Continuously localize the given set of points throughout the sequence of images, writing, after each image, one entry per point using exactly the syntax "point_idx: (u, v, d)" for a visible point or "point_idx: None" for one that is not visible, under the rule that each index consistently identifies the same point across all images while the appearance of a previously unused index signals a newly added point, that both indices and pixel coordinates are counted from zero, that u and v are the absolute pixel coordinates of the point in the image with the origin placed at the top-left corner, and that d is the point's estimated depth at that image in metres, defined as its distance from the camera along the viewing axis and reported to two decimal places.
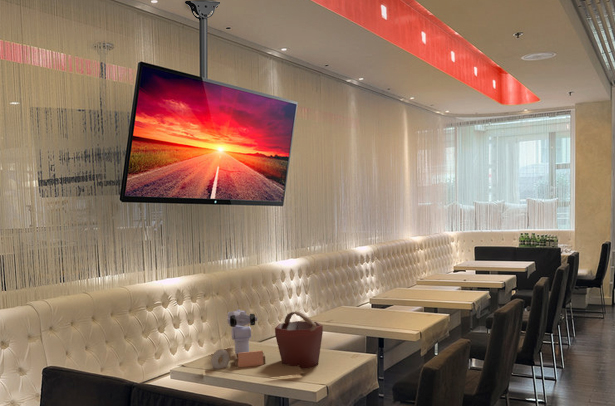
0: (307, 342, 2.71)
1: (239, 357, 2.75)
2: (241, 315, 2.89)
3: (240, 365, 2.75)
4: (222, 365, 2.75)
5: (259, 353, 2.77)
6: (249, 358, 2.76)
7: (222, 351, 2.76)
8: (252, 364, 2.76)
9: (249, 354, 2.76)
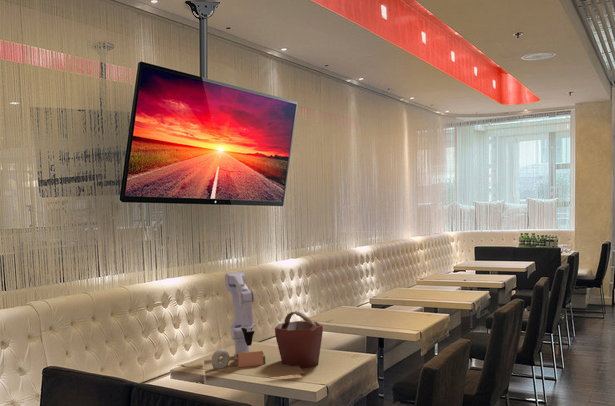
0: (307, 342, 2.71)
1: (239, 357, 2.75)
2: None
3: (240, 365, 2.75)
4: (222, 365, 2.75)
5: (259, 353, 2.77)
6: (249, 358, 2.76)
7: (222, 351, 2.76)
8: (252, 364, 2.76)
9: (249, 354, 2.76)
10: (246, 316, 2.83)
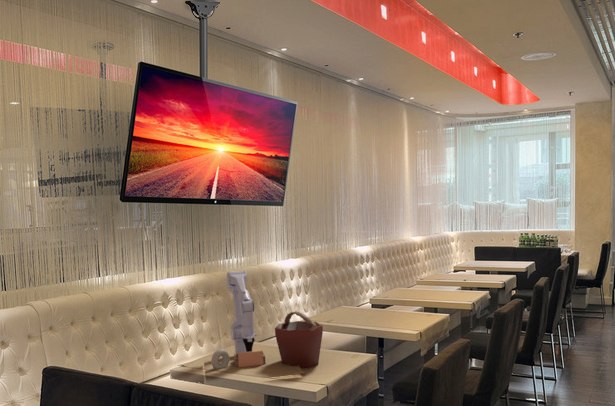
0: (307, 342, 2.71)
1: (239, 357, 2.75)
2: None
3: (240, 365, 2.75)
4: (222, 365, 2.75)
5: (259, 353, 2.77)
6: (249, 358, 2.76)
7: (222, 351, 2.76)
8: (252, 364, 2.76)
9: (249, 354, 2.76)
10: (247, 326, 2.80)
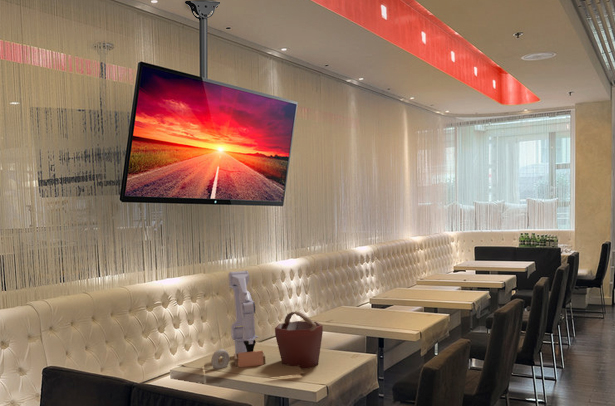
0: (307, 342, 2.71)
1: (239, 357, 2.75)
2: None
3: (240, 365, 2.75)
4: (222, 365, 2.75)
5: (259, 353, 2.77)
6: (249, 358, 2.76)
7: (222, 351, 2.76)
8: (252, 364, 2.76)
9: (249, 354, 2.76)
10: (248, 328, 2.75)
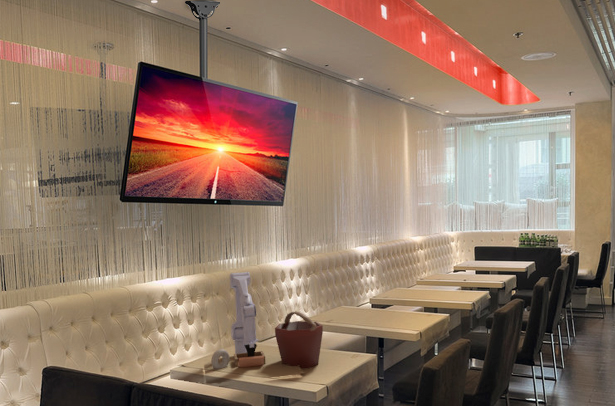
0: (307, 342, 2.71)
1: (240, 362, 2.72)
2: None
3: (240, 366, 2.75)
4: (222, 365, 2.75)
5: (260, 358, 2.73)
6: (249, 362, 2.74)
7: (222, 351, 2.76)
8: (252, 365, 2.76)
9: (250, 359, 2.72)
10: (248, 331, 2.72)
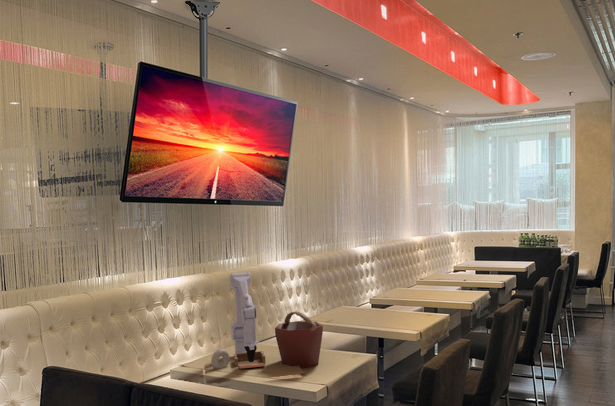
0: (307, 342, 2.71)
1: (240, 368, 2.71)
2: None
3: None
4: (222, 365, 2.75)
5: None
6: None
7: (222, 351, 2.76)
8: None
9: None
10: (249, 333, 2.72)
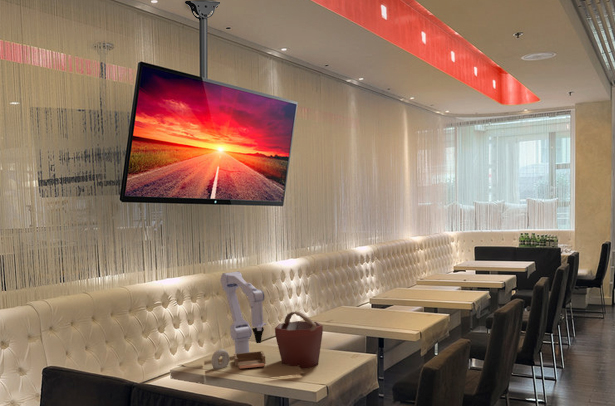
0: (307, 342, 2.71)
1: (240, 368, 2.71)
2: None
3: None
4: (222, 365, 2.75)
5: None
6: None
7: (222, 351, 2.76)
8: None
9: None
10: (258, 315, 2.84)
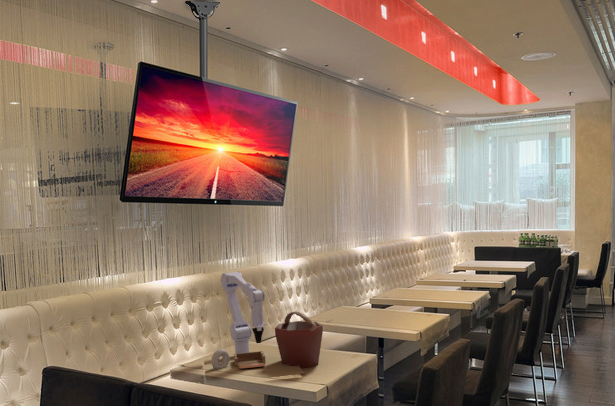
0: (307, 342, 2.71)
1: (240, 368, 2.71)
2: None
3: None
4: (222, 365, 2.75)
5: None
6: None
7: (222, 351, 2.76)
8: None
9: None
10: (258, 315, 2.84)
